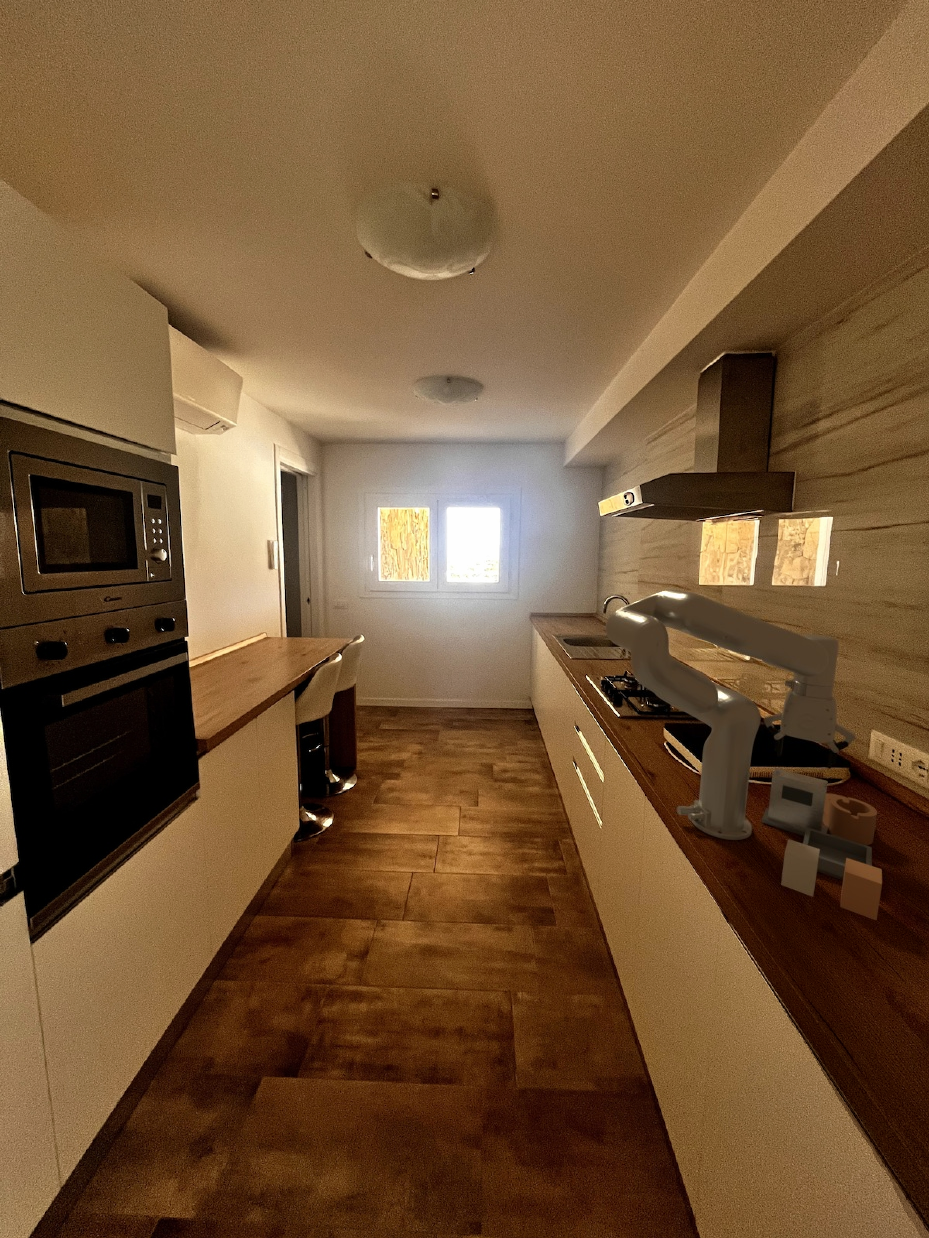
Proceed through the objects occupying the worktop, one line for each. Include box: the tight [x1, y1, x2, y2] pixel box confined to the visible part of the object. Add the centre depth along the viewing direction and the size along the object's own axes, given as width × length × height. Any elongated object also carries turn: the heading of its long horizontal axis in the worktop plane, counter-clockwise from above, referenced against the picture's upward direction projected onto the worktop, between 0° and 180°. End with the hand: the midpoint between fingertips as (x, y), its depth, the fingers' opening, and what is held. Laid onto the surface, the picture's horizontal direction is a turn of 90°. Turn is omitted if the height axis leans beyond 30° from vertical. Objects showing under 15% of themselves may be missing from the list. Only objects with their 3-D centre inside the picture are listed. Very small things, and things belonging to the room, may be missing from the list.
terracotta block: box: [839, 858, 883, 921], centre depth 88 cm, size 5×5×7 cm
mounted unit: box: [761, 767, 829, 837], centre depth 111 cm, size 12×6×12 cm, turn 51°
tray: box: [802, 828, 873, 881], centre depth 100 cm, size 11×11×3 cm
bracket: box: [822, 792, 878, 846], centre depth 114 cm, size 18×8×7 cm, turn 155°
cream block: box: [780, 839, 820, 897], centre depth 93 cm, size 5×5×7 cm
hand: (803, 760), depth 114 cm, fingers open, 9 cm apart
